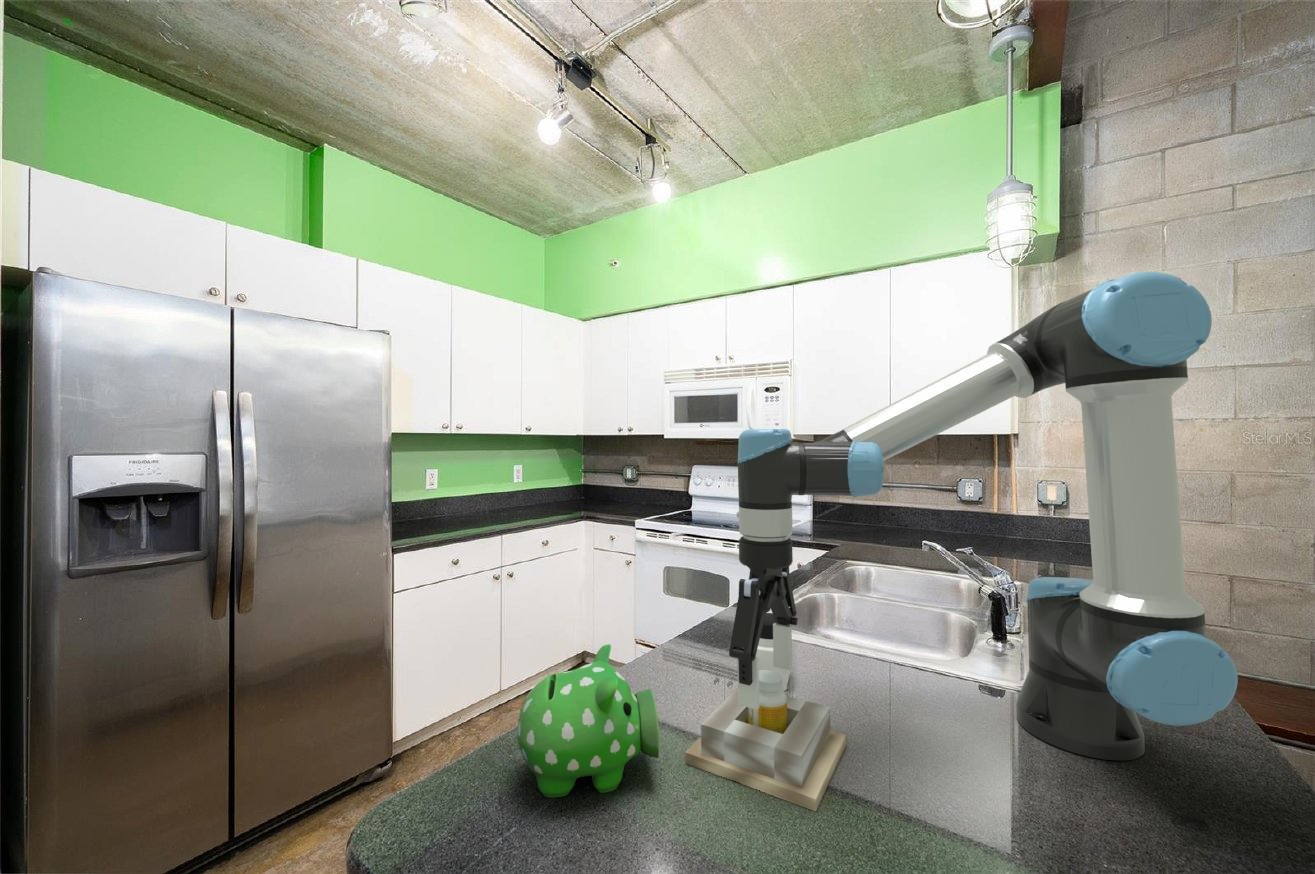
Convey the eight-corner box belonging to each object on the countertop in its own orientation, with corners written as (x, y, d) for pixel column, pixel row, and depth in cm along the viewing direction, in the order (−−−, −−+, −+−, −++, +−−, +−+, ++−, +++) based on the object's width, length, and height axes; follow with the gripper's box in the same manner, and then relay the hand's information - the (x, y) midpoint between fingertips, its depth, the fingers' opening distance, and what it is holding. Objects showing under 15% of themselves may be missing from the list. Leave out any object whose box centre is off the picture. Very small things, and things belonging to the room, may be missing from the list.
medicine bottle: (789, 674, 99) (789, 611, 99) (786, 691, 92) (785, 624, 92) (752, 669, 101) (751, 608, 101) (746, 685, 95) (745, 620, 95)
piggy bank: (662, 803, 64) (661, 681, 64) (511, 821, 61) (510, 693, 61) (647, 738, 78) (646, 638, 78) (523, 750, 75) (523, 646, 76)
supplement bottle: (740, 741, 74) (740, 674, 74) (764, 728, 78) (764, 664, 78) (771, 759, 70) (770, 688, 70) (795, 744, 74) (794, 676, 74)
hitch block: (846, 745, 76) (845, 707, 76) (815, 811, 62) (815, 765, 62) (732, 711, 85) (732, 678, 86) (685, 762, 72) (684, 723, 72)
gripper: (770, 522, 87) (772, 649, 87) (701, 549, 66) (703, 717, 65) (815, 526, 83) (817, 659, 83) (757, 555, 62) (759, 735, 61)
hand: (766, 685), depth 74 cm, fingers open, 13 cm apart
